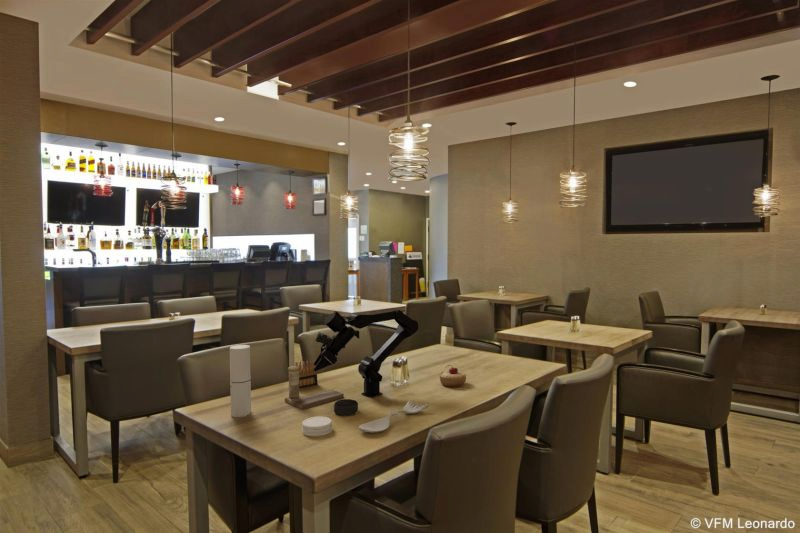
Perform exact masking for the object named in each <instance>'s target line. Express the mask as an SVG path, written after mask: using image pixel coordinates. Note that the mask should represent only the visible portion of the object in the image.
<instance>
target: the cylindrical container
mask: <svg viewBox="0 0 800 533" xmlns="http://www.w3.org/2000/svg"><path fill="white" fill-rule="evenodd" d="M251 375H252V374H251V345H248V344H236V345H235V344H234V345H232V346H230V347H229V382H230V383H229V386H230V387H229V388H230V416H231V417H232V418H243V417H247V415H248V416H249V415H251V413H252V391H251V390H252V386H251V383H252V382H251V381H252V380H251V379H252V378H251Z"/></svg>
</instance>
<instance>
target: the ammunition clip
mask: <svg viewBox="0 0 800 533" xmlns="http://www.w3.org/2000/svg"><path fill="white" fill-rule="evenodd" d="M315 361H316V358H313V361H312V359H309V360H308V359H307V360H306V363H305V360H303V361H301V360H300V361H299V363H298V362H297V361H295V364H294V366H298V367H300V370H299V390H300V389H304V388H309V387H313V385H314V386H317V385H319V384H318V374H317V371H314V368H315V367H316V366H315V365H314V362H315Z"/></svg>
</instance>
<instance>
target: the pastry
mask: <svg viewBox="0 0 800 533" xmlns="http://www.w3.org/2000/svg"><path fill="white" fill-rule="evenodd" d="M450 366H451V368H449V369H447V370H443V371H441V372H440V374H439V382H440V383H441V385H442V386H444V387H447V388H460V387H463V386H464V385H465V384H466V381H467V374H466V373H465V372H463V371H460V370H458V368H457V367H453V366H452V365H451V364H449V365H448V364H447V366H445V368H448V367H450Z"/></svg>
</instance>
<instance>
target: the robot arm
mask: <svg viewBox="0 0 800 533" xmlns="http://www.w3.org/2000/svg"><path fill="white" fill-rule="evenodd" d="M392 320H394V321H395V322H396V323H397V327H396V330H395V332H394V333H393V334H392V335H391V336H390V338H388V340H387V341H386V342H385V343H384V344H383V345H381V347H380V348H379V349H378V350H377V351H376V352H375V353H374V354H373V355H371V356H368V355H366V356H365V357H364V358H363V359H362V360H360V361H359V364H358V367H357V370H358V374H359V375H361V378H362V379H363V392H361V393H360V394H361V395H362V396H365V397H368V398H375V397H378V396H382V395H383V392H381V391H380V390H381V387H380V384H381V382H382V380H383V378H384V377H383V375H382V374H380V372H379V371H380V370H381V368H382V367H381V366H382V364H383V363H384V362H385V361H386V359H387V358H389V356H390V355H391V354H392V353H393V352H394V351H395V350H396V349H397V347H399V345H400V344H401V343H403V341H404V340H406V339H408V338H409V337H412V336H413V335H415V334H416V333H417V332H418V331H419V323H418V321H417V320H414V319H412V318H411V317H409V316H408V315H407V314H405V313H404V312H403V311H402V310H400V309H397V308H393V309H389V310H384V311H377V312H372V313H371V312H370V313H363V312H353V313H350V314H349V316H346V317H343V316H342V315H341V314H340V313H339V311H336V310H335V311H333V312H331V313H330V314H329V315H328V316H326V317H325V319H324V322H323V324H324V325H325V326H326V327H328V328H329V329H330V330H331V331H332V332H333V333H336V334H335V335H332V336H330V335H328V334H325V333H322V332H320V331H318V333H317V335H316V338H315V342H317V343H320V344H321V345H320V352H319V354H318V356H317V358H315V362H314V365H315V366H316V367H315V368H314V371H316V372H317V371H320V370H322V369H324V368H327V367H330V366H332V365H335V364H336V363H337V362H338V355H339V353H340V352H341V351H342V350H344V349H345V348H346V346H347V344H349V343H350V341H352V339H353V338H354V337H356V339H360V331H359V329H363V328H366V327H369V326H371V325H372V324H376V323H380V322H387V321H392ZM347 325H348V326H347ZM355 328H356V329H355Z"/></svg>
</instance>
